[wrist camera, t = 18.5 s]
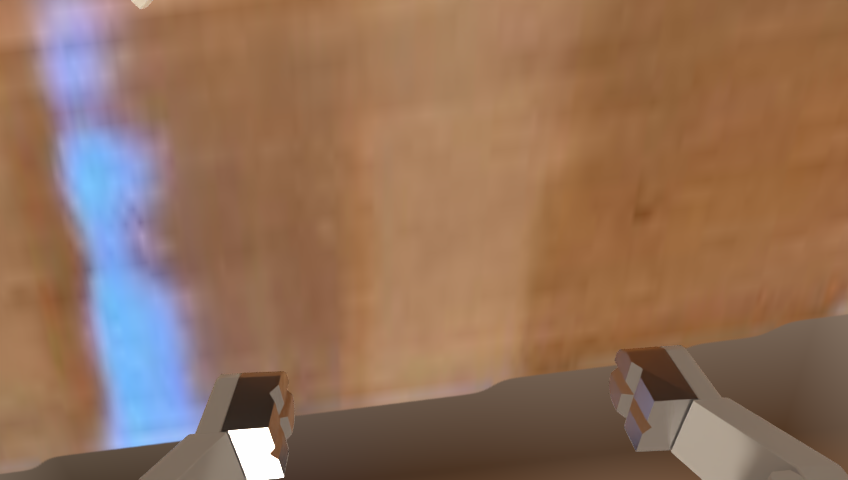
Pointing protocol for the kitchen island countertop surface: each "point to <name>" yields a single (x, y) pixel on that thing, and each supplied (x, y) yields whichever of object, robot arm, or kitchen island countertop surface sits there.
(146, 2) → the post board
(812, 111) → the kitchen island countertop surface
